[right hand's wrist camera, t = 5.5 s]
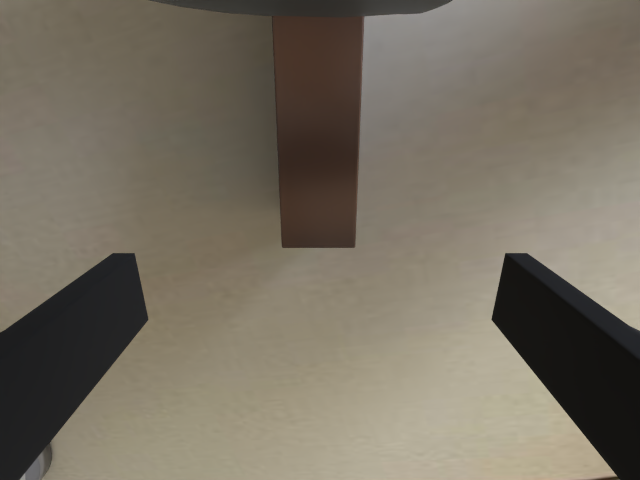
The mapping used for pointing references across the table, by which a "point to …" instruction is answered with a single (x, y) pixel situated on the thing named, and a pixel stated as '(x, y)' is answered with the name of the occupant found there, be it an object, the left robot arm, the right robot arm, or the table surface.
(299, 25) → the beam
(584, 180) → the table surface
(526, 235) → the table surface
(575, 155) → the table surface
